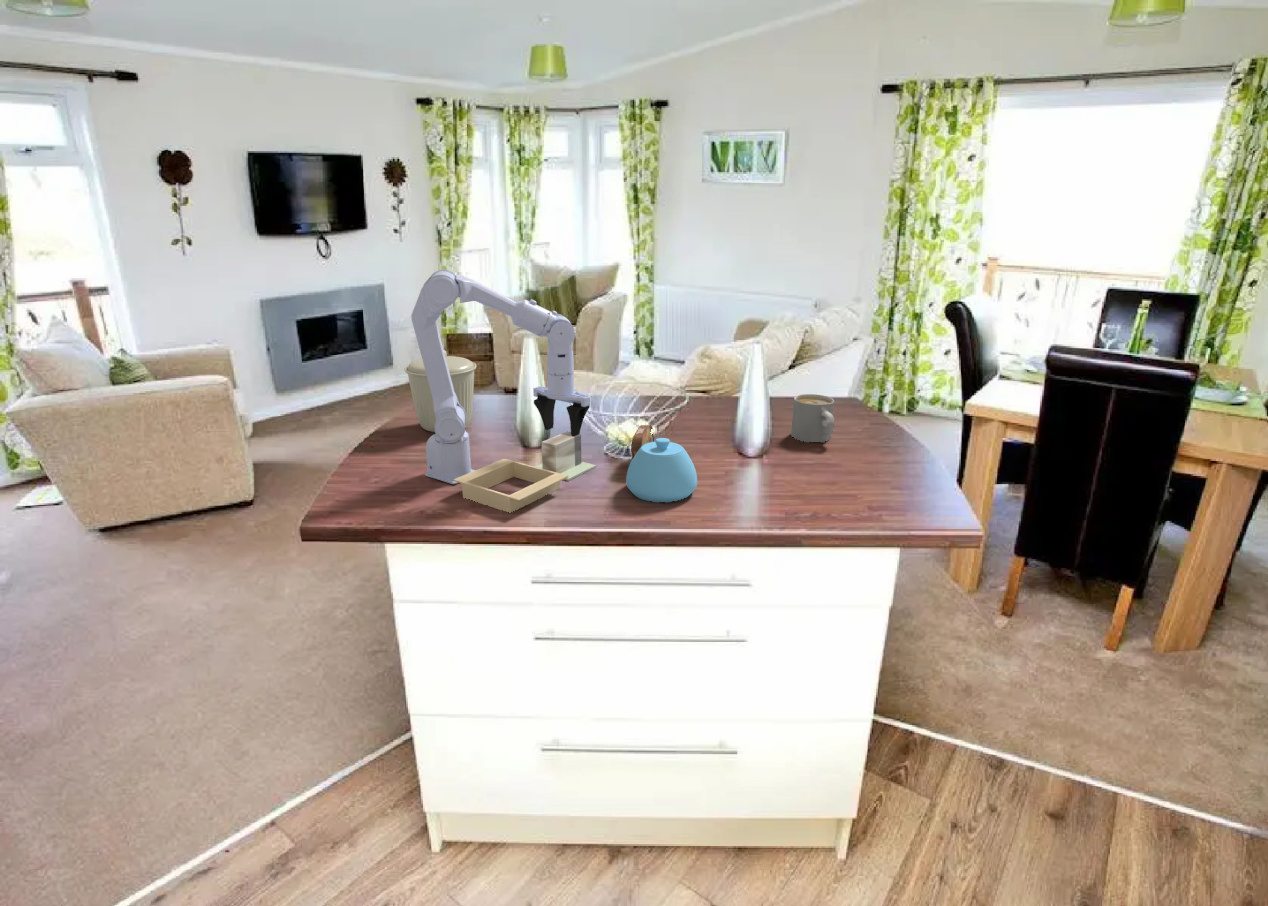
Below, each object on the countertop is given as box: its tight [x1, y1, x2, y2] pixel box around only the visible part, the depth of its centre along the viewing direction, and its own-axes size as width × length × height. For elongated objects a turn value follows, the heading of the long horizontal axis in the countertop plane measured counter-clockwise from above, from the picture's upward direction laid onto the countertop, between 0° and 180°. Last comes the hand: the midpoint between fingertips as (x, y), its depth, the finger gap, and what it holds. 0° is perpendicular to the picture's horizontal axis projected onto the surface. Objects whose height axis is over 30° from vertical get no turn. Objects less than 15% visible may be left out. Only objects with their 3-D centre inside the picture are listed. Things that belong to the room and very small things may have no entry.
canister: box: [404, 349, 477, 433], centre depth 191 cm, size 18×18×21 cm
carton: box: [453, 458, 569, 514], centre depth 153 cm, size 18×15×4 cm
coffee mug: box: [790, 393, 835, 443], centre depth 186 cm, size 13×10×10 cm
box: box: [541, 430, 583, 473], centre depth 165 cm, size 4×9×7 cm, turn 146°
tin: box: [630, 424, 655, 460], centre depth 169 cm, size 15×3×8 cm, turn 168°
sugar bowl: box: [625, 437, 698, 503], centre depth 153 cm, size 15×15×12 cm
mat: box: [534, 461, 597, 482], centre depth 167 cm, size 11×10×1 cm
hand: (562, 432), depth 164 cm, fingers open, 7 cm apart
